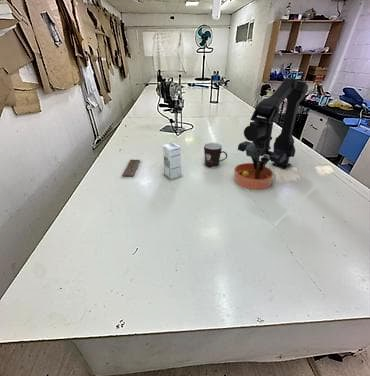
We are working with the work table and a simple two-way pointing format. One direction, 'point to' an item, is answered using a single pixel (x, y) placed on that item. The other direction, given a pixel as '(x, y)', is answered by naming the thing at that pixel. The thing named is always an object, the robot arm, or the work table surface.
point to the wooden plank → (131, 168)
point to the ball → (245, 174)
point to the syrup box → (172, 160)
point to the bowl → (252, 177)
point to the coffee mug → (212, 154)
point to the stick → (257, 170)
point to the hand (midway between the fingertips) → (258, 170)
